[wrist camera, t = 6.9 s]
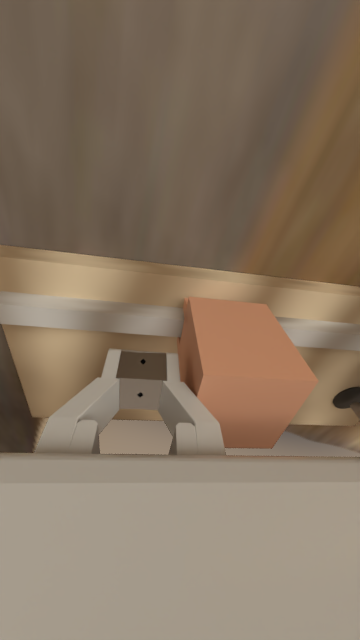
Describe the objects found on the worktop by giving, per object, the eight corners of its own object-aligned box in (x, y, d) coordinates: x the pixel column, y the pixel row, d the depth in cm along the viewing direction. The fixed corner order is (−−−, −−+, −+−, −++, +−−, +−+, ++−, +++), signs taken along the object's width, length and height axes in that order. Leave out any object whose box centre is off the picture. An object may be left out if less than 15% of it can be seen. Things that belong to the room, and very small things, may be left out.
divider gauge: (445, 296, 16) (632, 393, 10) (344, 411, 24) (414, 511, 17) (-4, 244, 13) (-180, 345, 6) (40, 400, 20) (-19, 522, 13)
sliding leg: (259, 293, 13) (318, 381, 8) (219, 398, 18) (241, 492, 13) (186, 286, 13) (203, 375, 8) (166, 396, 18) (168, 493, 13)
